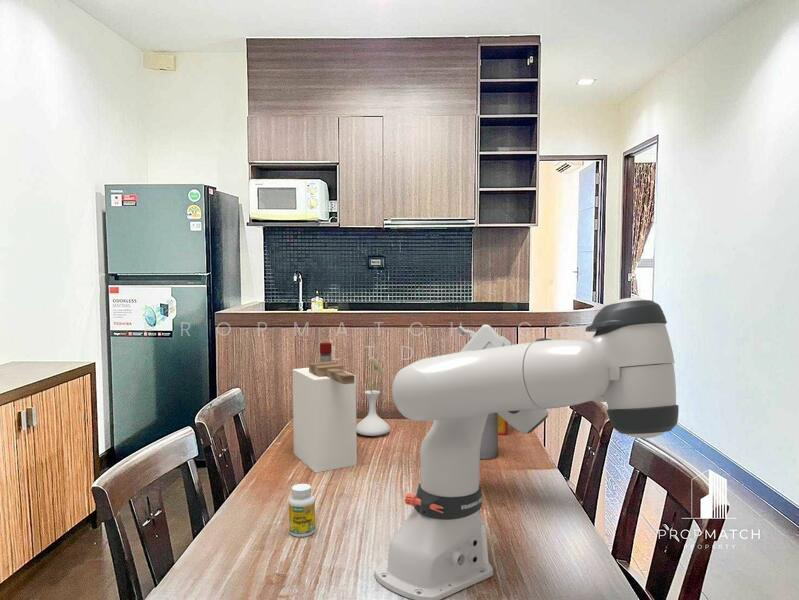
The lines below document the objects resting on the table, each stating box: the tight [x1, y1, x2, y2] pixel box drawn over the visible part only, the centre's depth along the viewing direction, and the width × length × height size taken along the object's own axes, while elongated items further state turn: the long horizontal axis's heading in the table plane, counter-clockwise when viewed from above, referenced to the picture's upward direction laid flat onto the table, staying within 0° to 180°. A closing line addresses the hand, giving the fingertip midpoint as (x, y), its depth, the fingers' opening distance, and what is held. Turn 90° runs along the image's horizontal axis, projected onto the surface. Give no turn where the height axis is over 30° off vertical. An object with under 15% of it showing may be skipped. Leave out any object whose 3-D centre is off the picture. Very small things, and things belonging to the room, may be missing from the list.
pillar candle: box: [480, 413, 499, 461], centre depth 174 cm, size 10×10×15 cm
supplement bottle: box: [288, 483, 316, 538], centre depth 125 cm, size 5×5×10 cm
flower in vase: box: [356, 356, 391, 437], centre depth 196 cm, size 13×11×25 cm
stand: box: [292, 367, 358, 474], centre depth 170 cm, size 18×12×25 cm, turn 28°
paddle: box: [308, 361, 355, 384], centre depth 162 cm, size 20×7×2 cm, turn 28°
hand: (446, 342), depth 149 cm, fingers open, 8 cm apart
